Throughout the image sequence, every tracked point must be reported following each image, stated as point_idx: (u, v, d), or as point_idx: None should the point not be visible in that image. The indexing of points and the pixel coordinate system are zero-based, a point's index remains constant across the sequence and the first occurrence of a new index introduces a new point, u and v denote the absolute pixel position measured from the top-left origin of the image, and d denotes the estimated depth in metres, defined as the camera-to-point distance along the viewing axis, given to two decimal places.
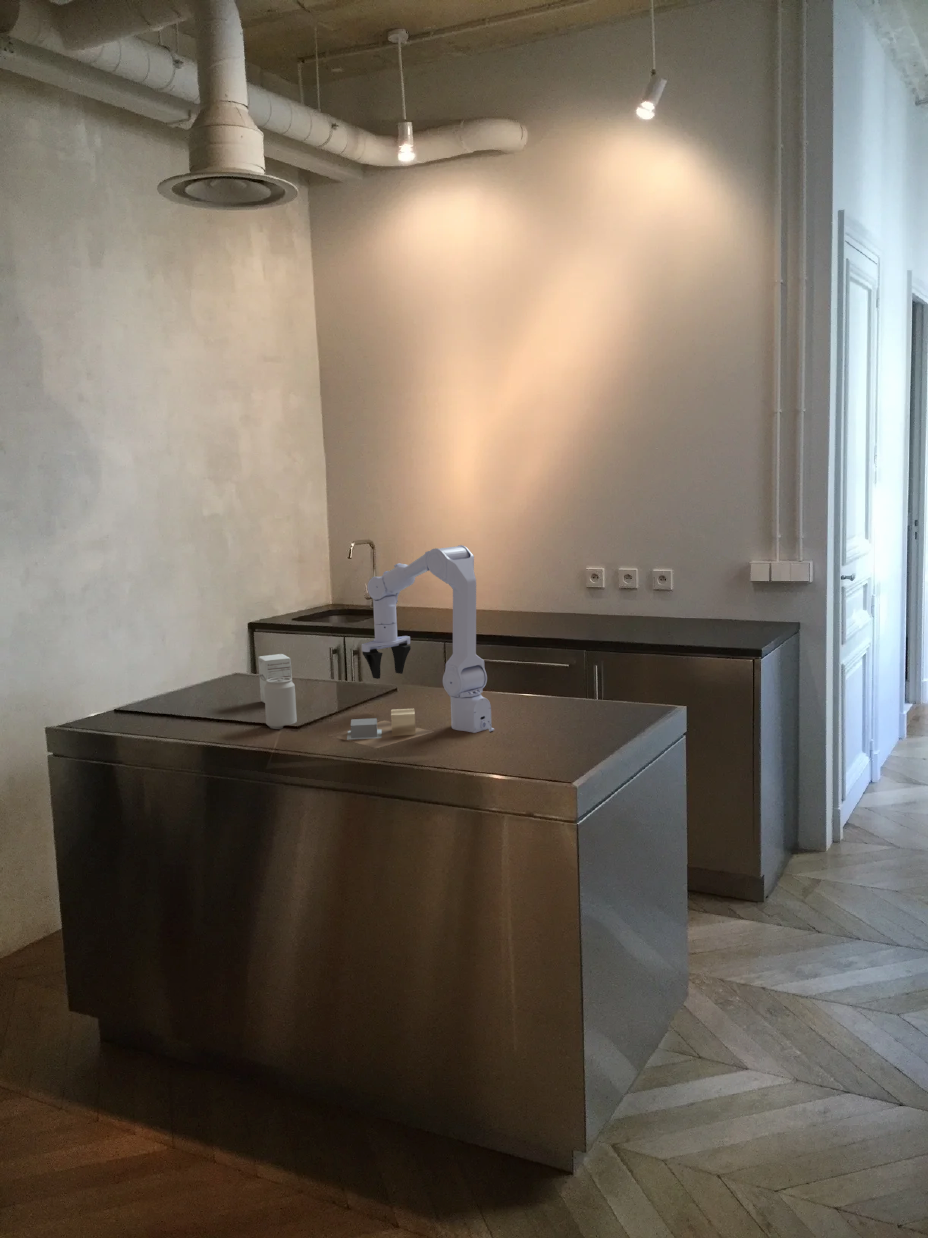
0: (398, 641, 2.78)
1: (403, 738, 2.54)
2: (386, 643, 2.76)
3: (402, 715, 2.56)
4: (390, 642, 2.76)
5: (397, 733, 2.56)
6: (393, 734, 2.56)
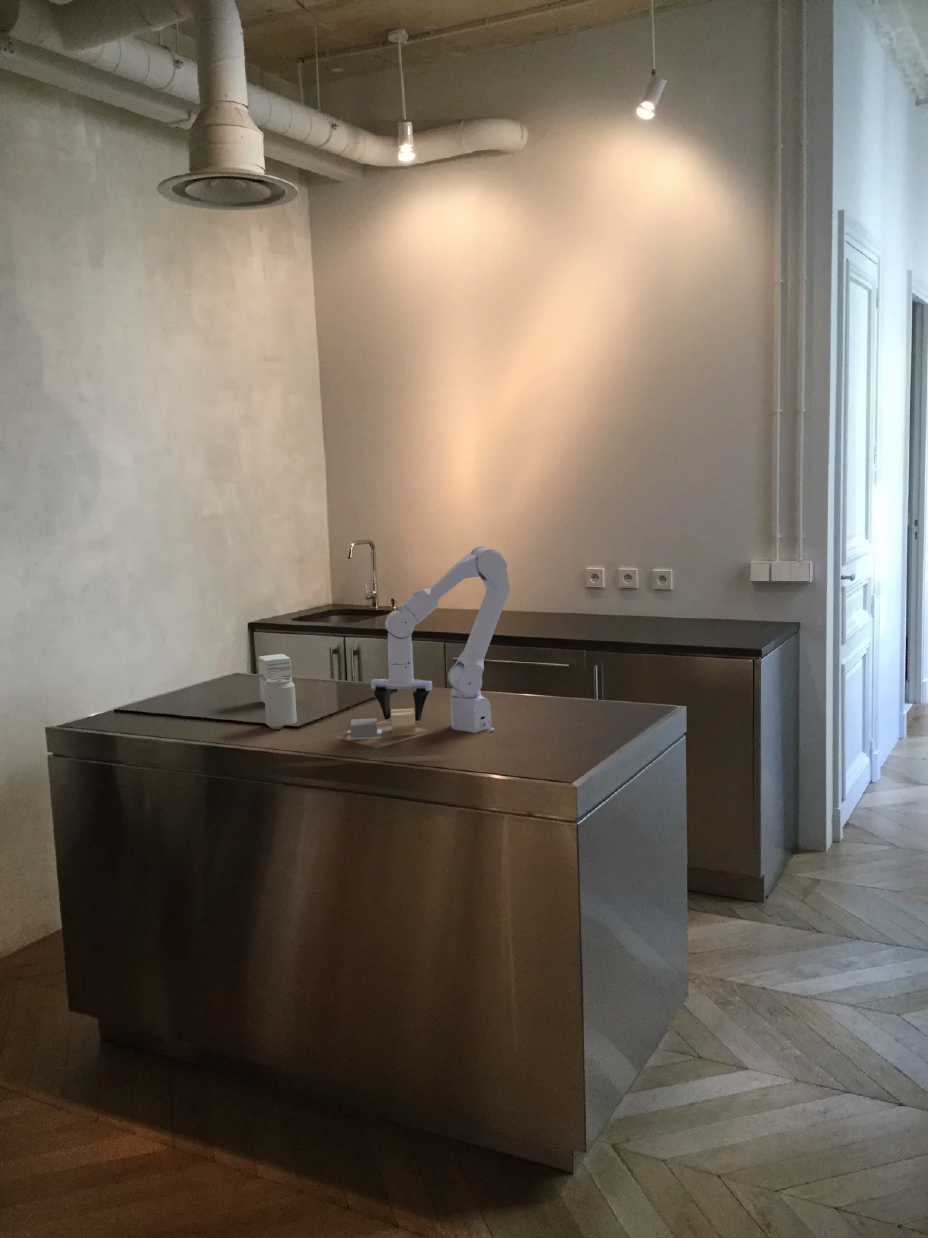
0: (405, 685, 2.54)
1: (403, 738, 2.54)
2: (389, 684, 2.55)
3: (402, 715, 2.56)
4: (393, 684, 2.55)
5: (397, 733, 2.56)
6: (393, 734, 2.56)
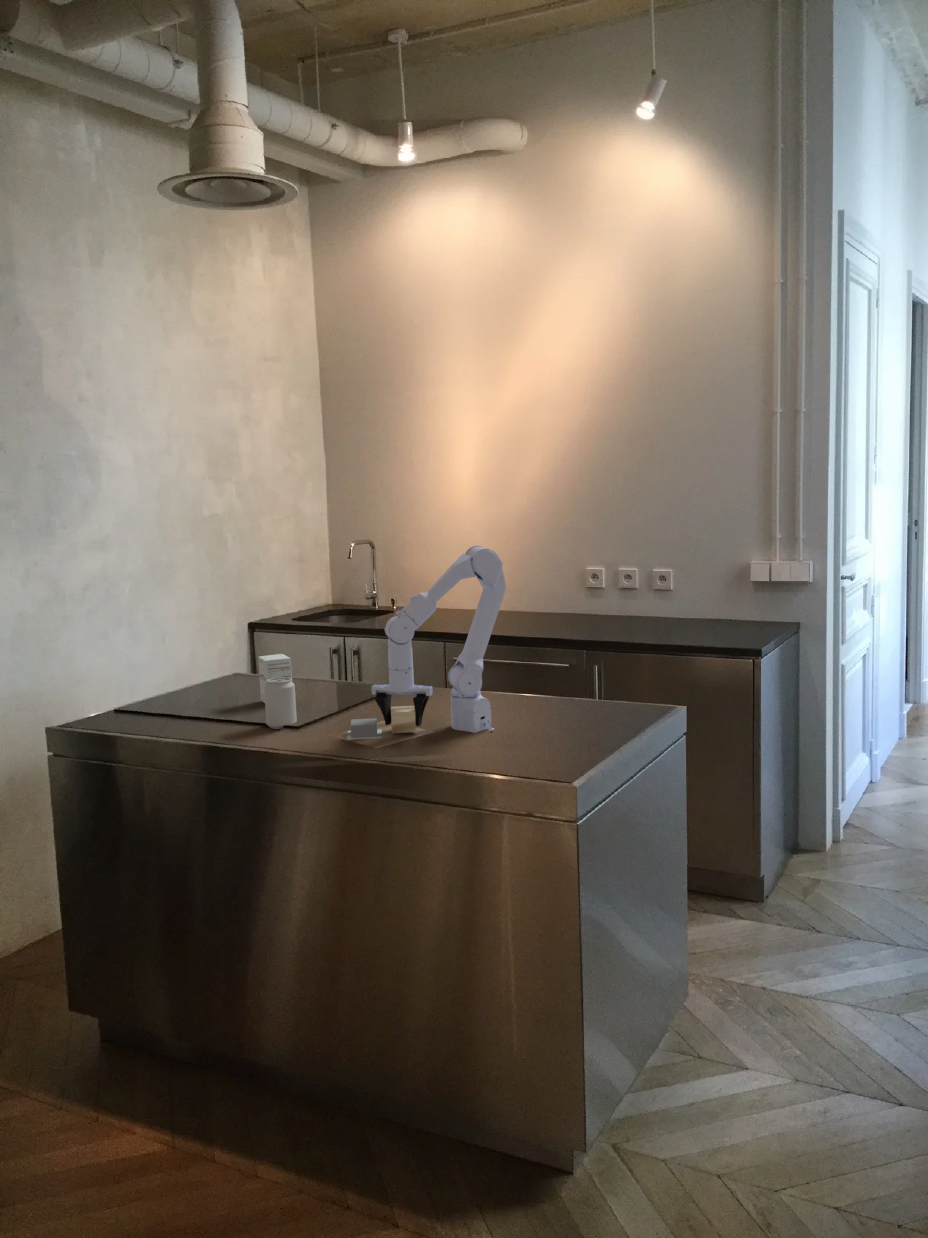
0: (405, 690, 2.54)
1: (403, 738, 2.54)
2: (389, 689, 2.56)
3: (402, 712, 2.56)
4: (393, 689, 2.55)
5: (397, 730, 2.56)
6: (393, 731, 2.56)
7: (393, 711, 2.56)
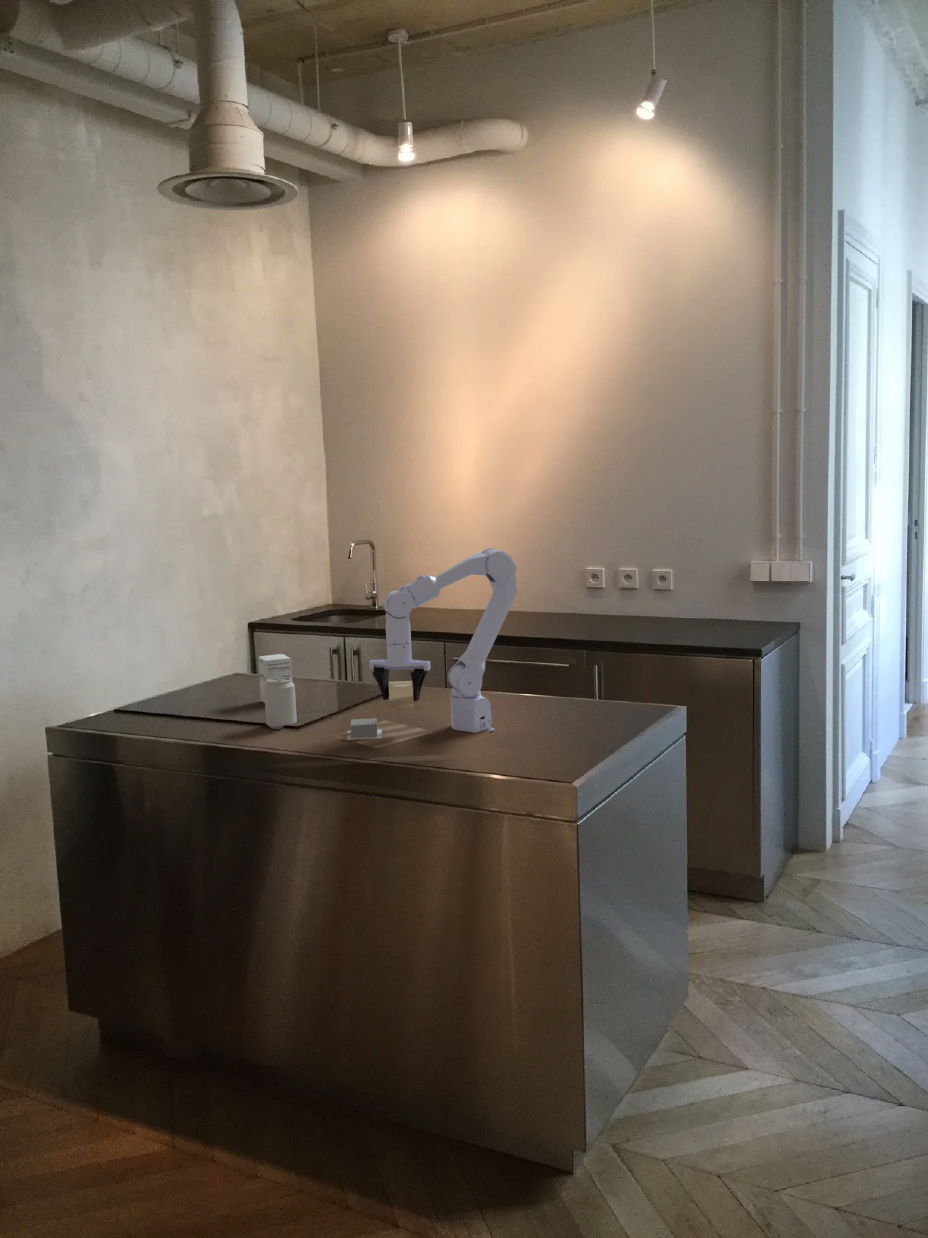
0: (403, 665, 2.54)
1: (403, 738, 2.54)
2: (387, 664, 2.55)
3: (400, 687, 2.55)
4: (391, 664, 2.54)
5: (395, 705, 2.55)
6: (391, 706, 2.55)
7: (391, 686, 2.55)
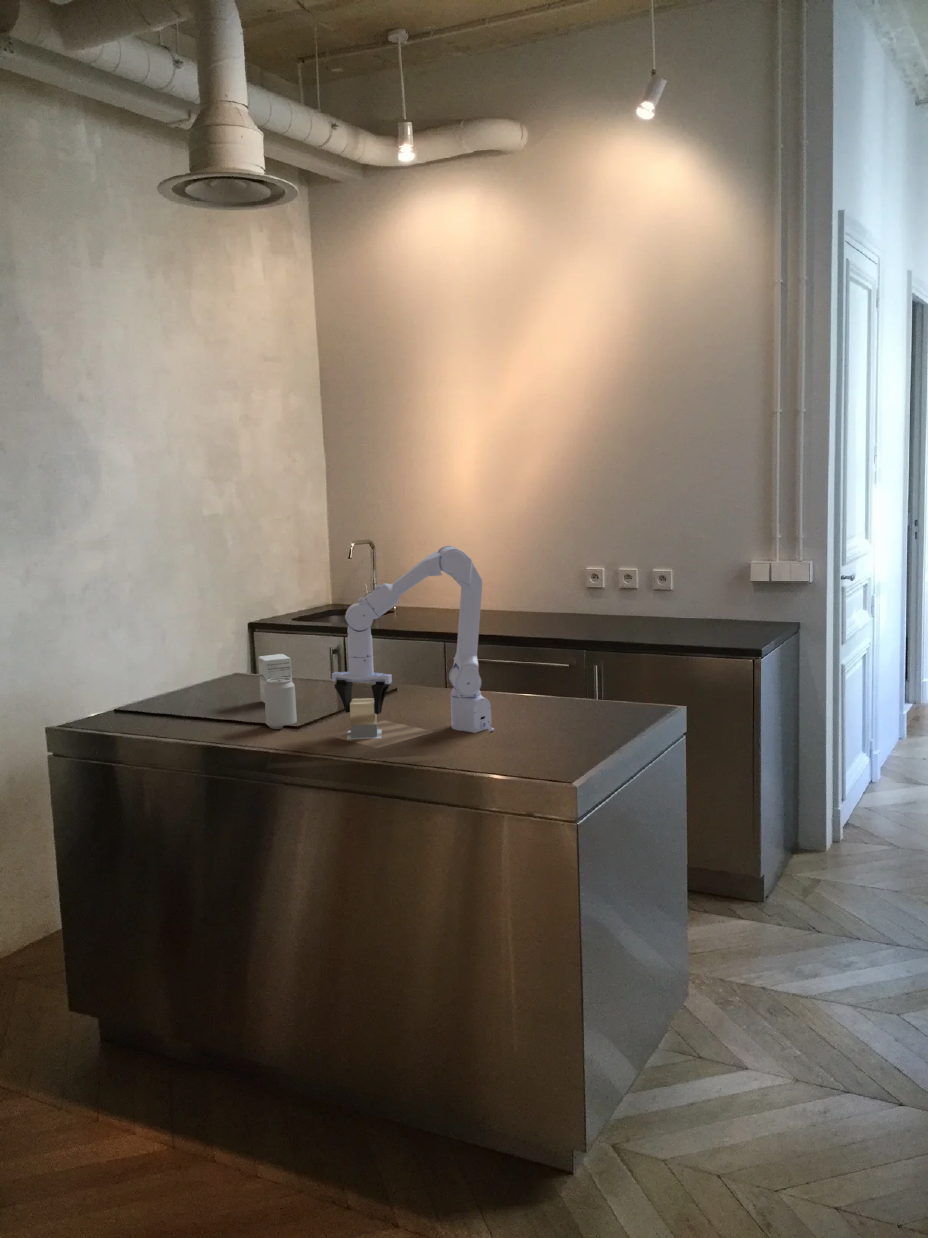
0: (364, 678, 2.53)
1: (403, 738, 2.54)
2: (348, 677, 2.55)
3: (361, 704, 2.54)
4: (352, 677, 2.54)
5: (356, 722, 2.55)
6: (352, 723, 2.55)
7: (352, 703, 2.55)
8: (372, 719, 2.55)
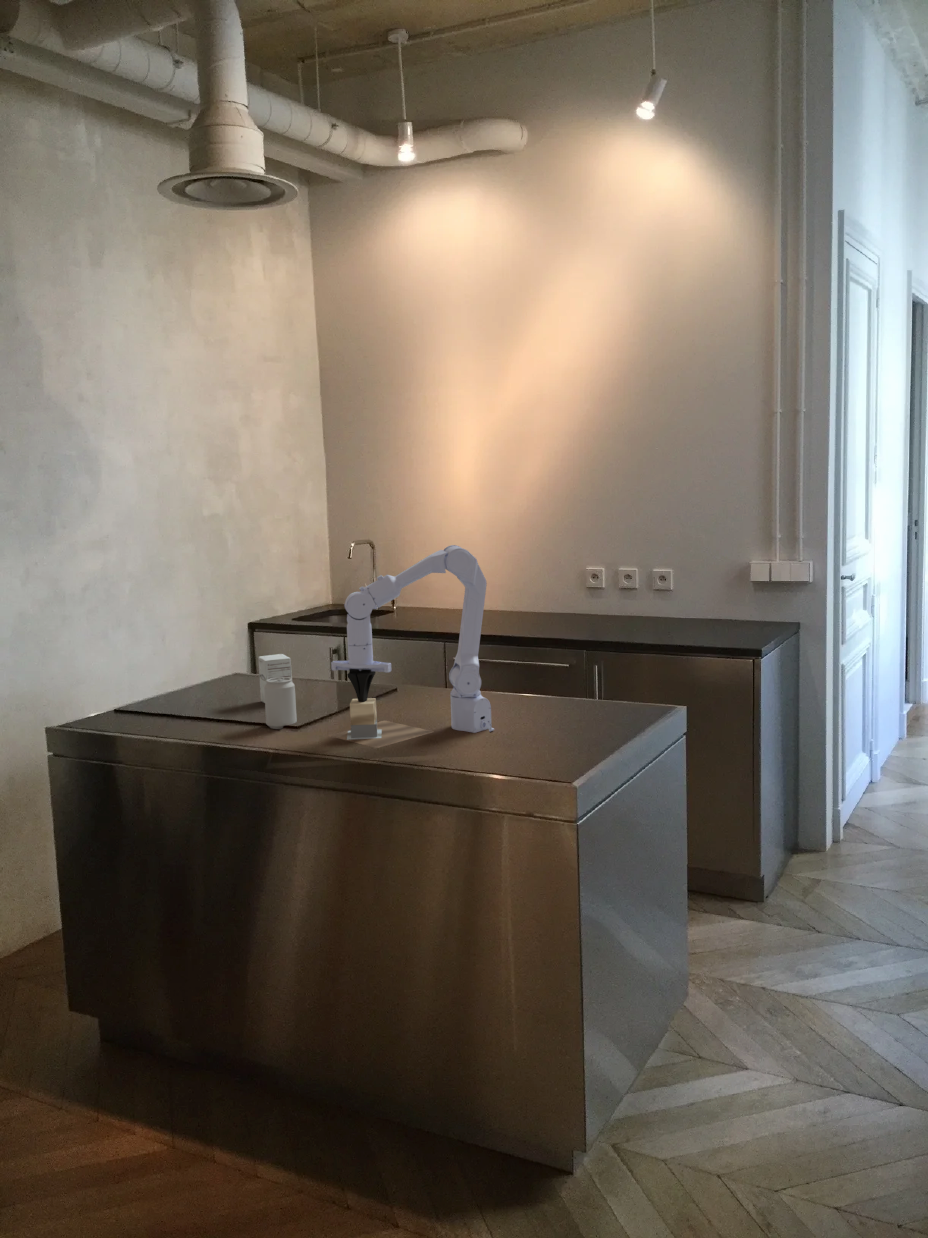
0: (363, 666, 2.53)
1: (403, 738, 2.54)
2: (348, 665, 2.54)
3: (361, 704, 2.54)
4: (351, 665, 2.54)
5: (356, 722, 2.55)
6: (352, 723, 2.55)
7: (352, 703, 2.55)
8: (372, 719, 2.55)
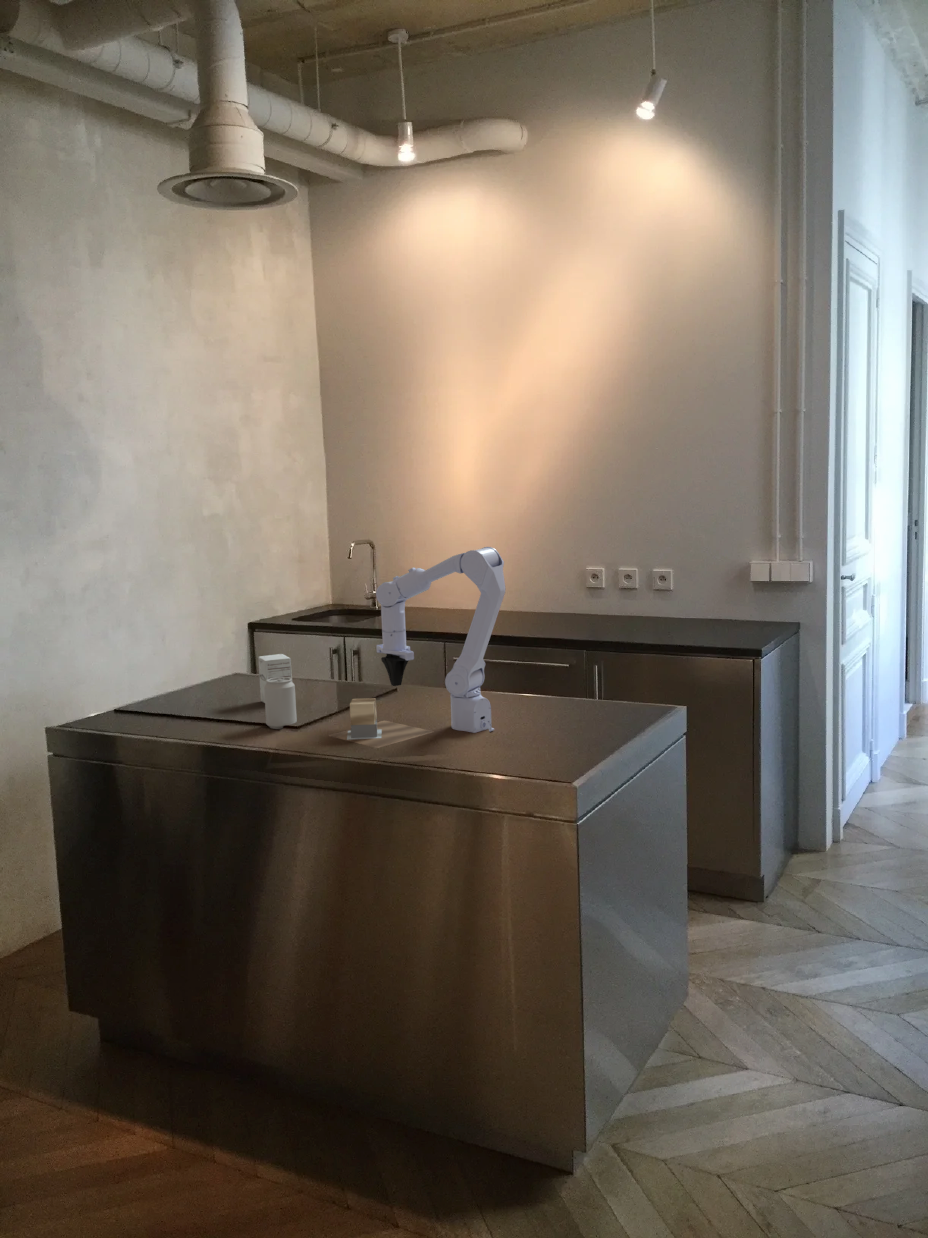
0: (389, 652, 2.65)
1: (403, 738, 2.54)
2: (381, 649, 2.68)
3: (361, 704, 2.54)
4: (382, 649, 2.67)
5: (356, 722, 2.55)
6: (352, 723, 2.55)
7: (352, 703, 2.55)
8: (372, 719, 2.55)
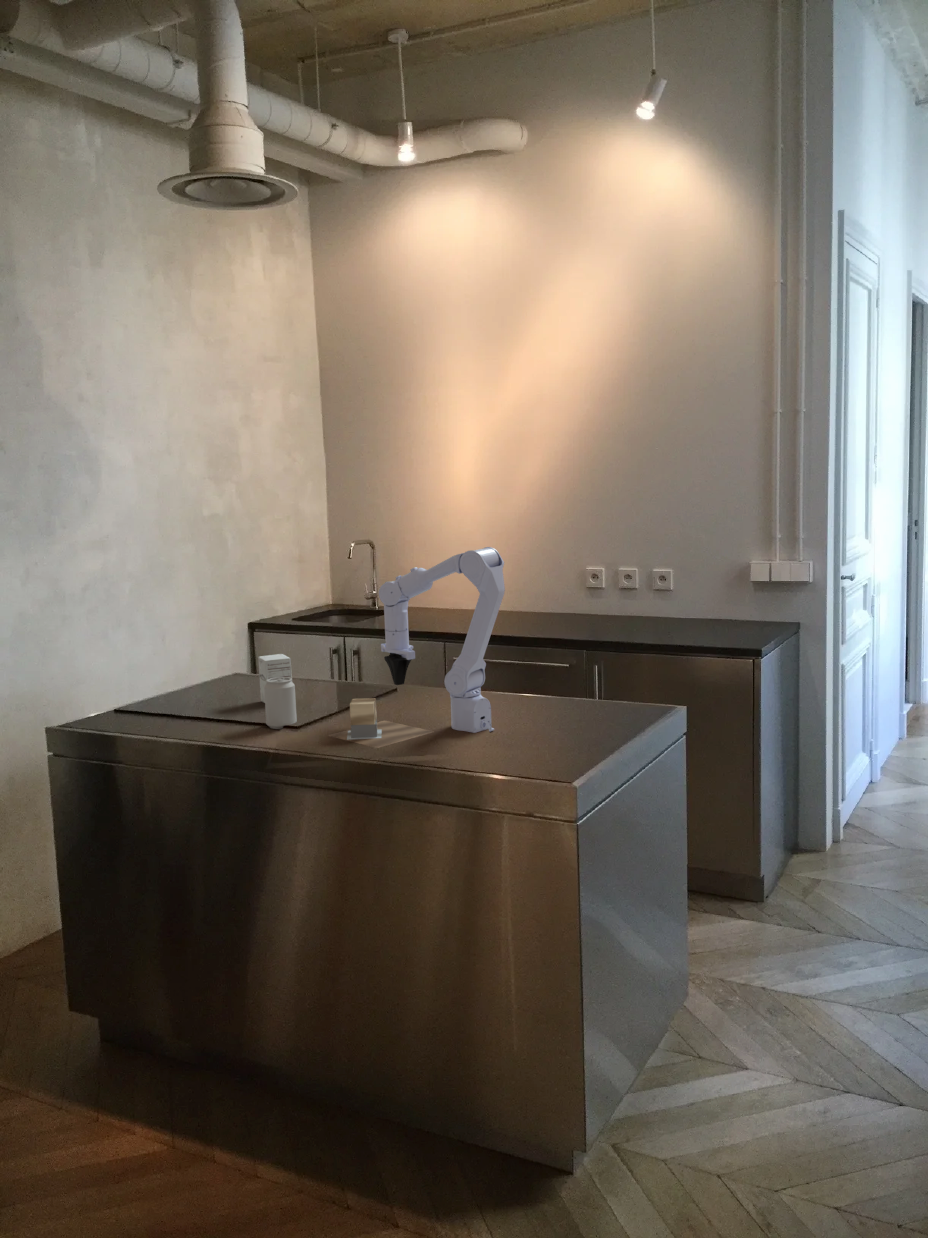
0: (391, 651, 2.66)
1: (403, 738, 2.54)
2: (384, 648, 2.69)
3: (361, 704, 2.54)
4: (385, 648, 2.68)
5: (356, 722, 2.55)
6: (352, 723, 2.55)
7: (352, 703, 2.55)
8: (372, 719, 2.55)
